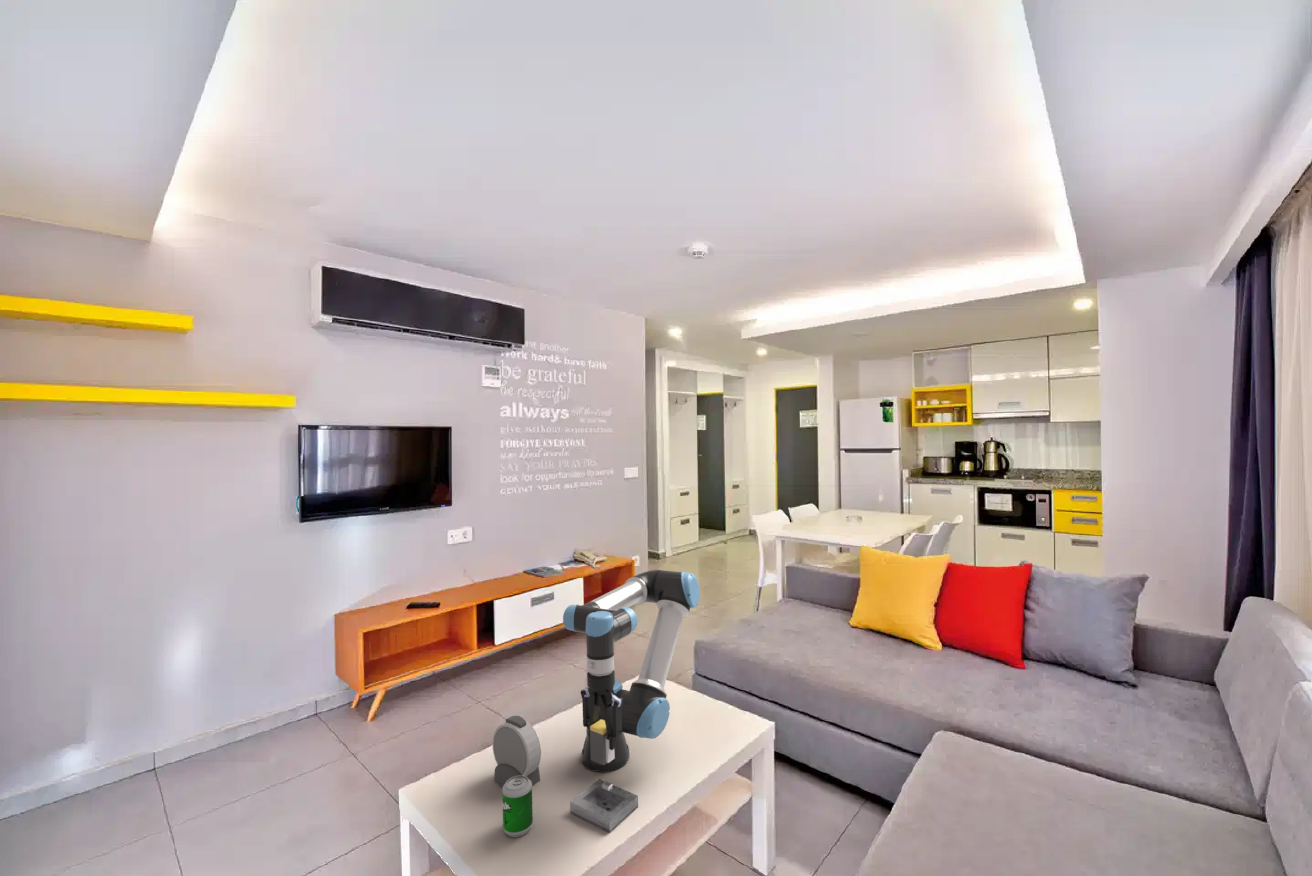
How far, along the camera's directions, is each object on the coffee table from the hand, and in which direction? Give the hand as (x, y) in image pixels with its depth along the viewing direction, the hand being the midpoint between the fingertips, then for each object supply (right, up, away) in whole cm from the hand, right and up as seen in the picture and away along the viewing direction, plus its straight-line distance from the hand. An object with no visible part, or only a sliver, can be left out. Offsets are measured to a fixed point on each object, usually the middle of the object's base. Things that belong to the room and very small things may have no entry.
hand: (602, 757), depth 147 cm
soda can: (-21, -15, -7) cm, 27 cm away
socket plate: (0, -14, 0) cm, 14 cm away
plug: (0, 0, 0) cm, 0 cm away
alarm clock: (-27, -16, +14) cm, 34 cm away
